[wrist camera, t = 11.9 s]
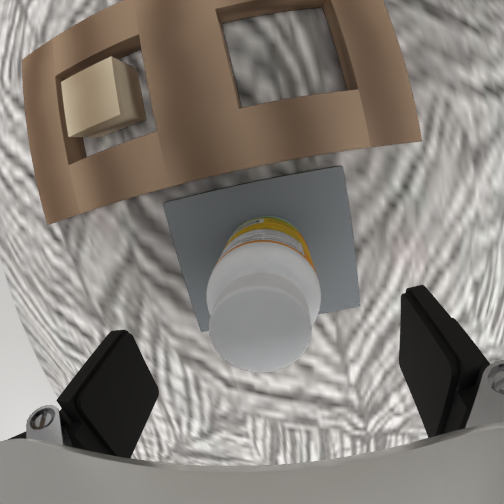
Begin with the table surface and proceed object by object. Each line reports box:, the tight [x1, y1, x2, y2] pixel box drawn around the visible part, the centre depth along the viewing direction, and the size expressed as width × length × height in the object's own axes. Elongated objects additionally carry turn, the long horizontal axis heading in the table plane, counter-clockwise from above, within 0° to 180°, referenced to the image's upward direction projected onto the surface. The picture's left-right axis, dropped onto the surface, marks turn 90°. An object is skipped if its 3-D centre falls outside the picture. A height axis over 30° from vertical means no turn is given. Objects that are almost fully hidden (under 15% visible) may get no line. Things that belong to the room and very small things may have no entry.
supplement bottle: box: [206, 216, 321, 372], centre depth 16 cm, size 5×5×10 cm
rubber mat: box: [163, 166, 360, 332], centre depth 21 cm, size 12×10×1 cm
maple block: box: [61, 56, 146, 138], centre depth 17 cm, size 4×4×4 cm
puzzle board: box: [22, 0, 422, 225], centre depth 17 cm, size 26×14×2 cm, turn 102°
